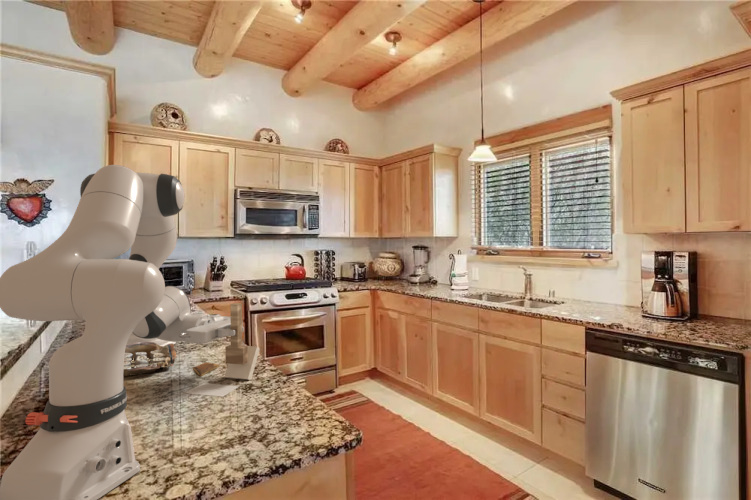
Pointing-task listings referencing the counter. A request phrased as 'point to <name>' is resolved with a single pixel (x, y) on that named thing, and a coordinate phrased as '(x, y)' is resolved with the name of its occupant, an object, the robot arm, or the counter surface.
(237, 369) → the slab tile
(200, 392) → the rest mat
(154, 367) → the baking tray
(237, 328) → the stacked wooden blocks
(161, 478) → the counter surface
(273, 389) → the counter surface
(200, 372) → the shard
